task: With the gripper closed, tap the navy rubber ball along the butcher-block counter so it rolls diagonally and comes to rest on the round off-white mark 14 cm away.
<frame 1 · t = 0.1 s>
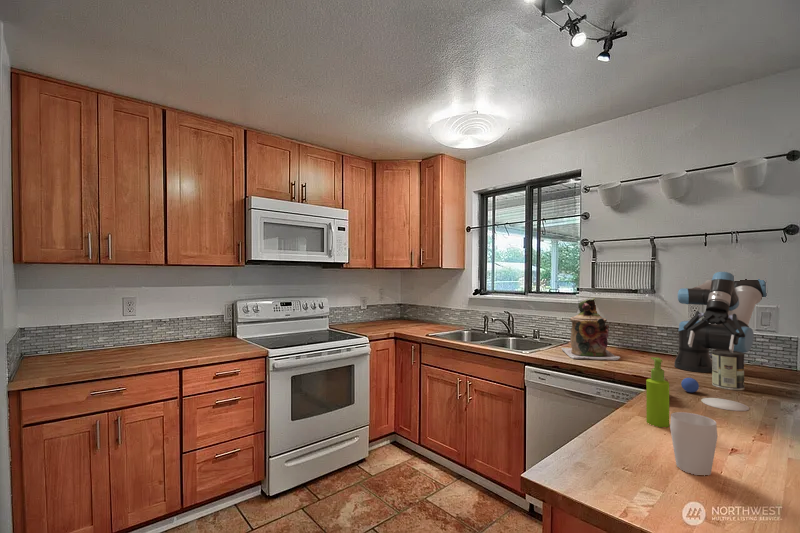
hand: (709, 348, 161), 15 cm above the counter, tool tilted 35°, fingers open, 13 cm apart
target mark: (724, 404, 138), on the counter
cup: (693, 470, 93), on the counter
coffee can: (727, 387, 160), on the counter
ball: (690, 385, 152), on the counter
cookie jar: (589, 356, 217), on the counter
tin: (659, 398, 145), on the counter
soap dispenser: (657, 423, 121), on the counter
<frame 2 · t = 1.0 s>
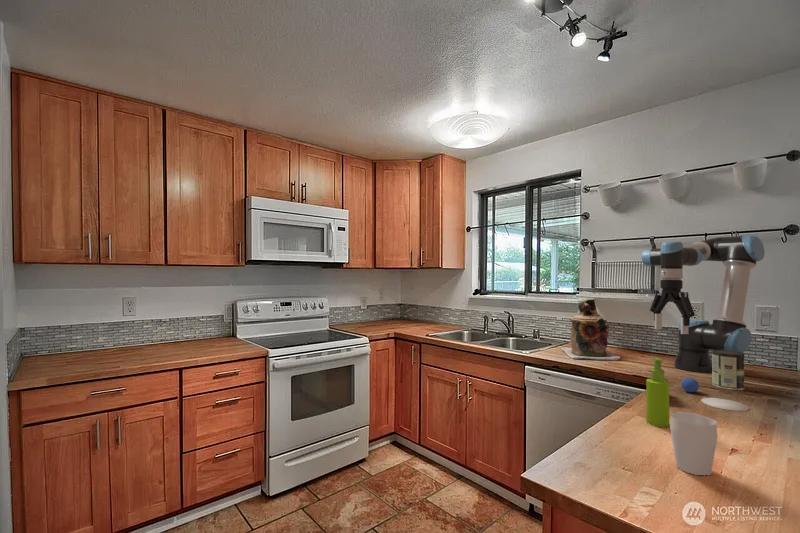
hand: (670, 331, 162), 22 cm above the counter, tool pointing down, fingers open, 12 cm apart
nothing on the counter moved.
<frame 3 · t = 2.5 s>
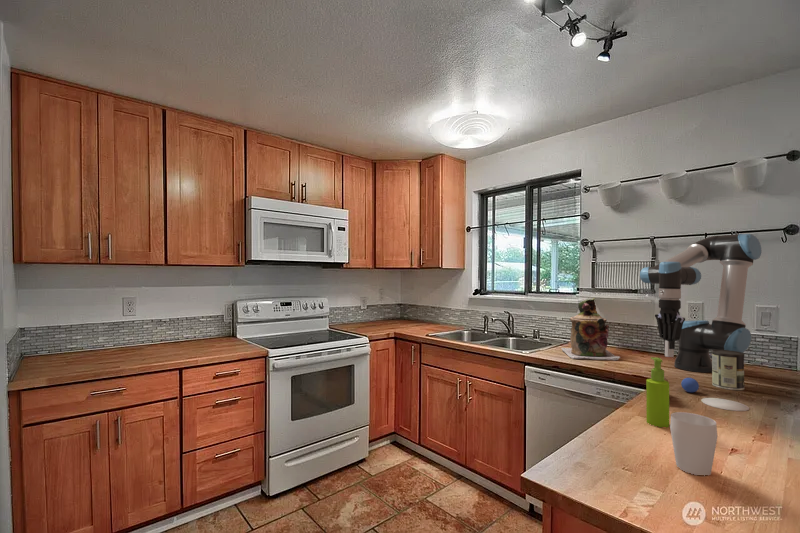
hand: (669, 356, 162), 12 cm above the counter, tool pointing down, fingers closed
nothing on the counter moved.
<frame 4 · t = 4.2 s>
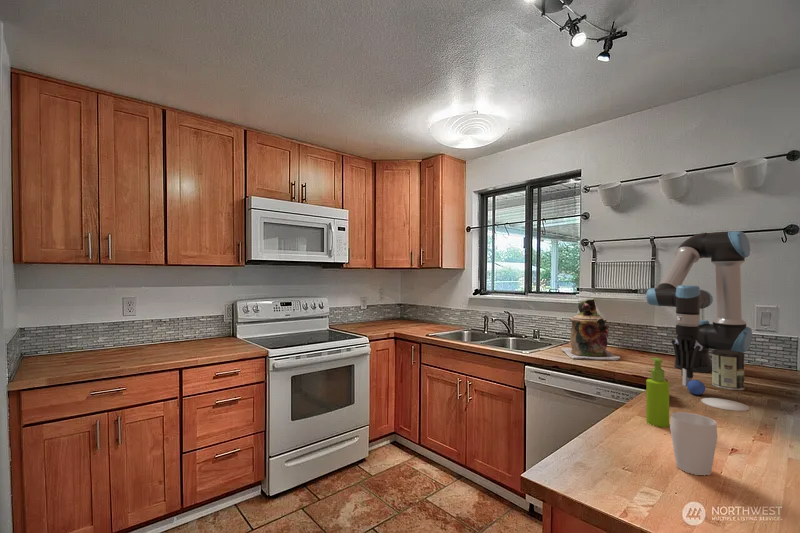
hand: (687, 385, 153), 2 cm above the counter, tool pointing down, fingers closed
ball: (696, 387, 150), on the counter, touching gripper
everything else where it was.
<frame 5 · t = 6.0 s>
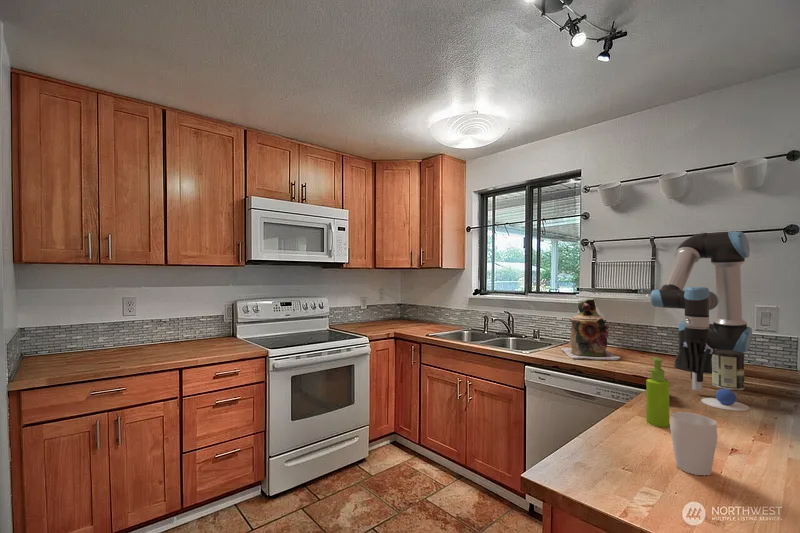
hand: (696, 389, 149), 2 cm above the counter, tool pointing down, fingers closed
ball: (725, 396, 138), on the counter
everything else where it was.
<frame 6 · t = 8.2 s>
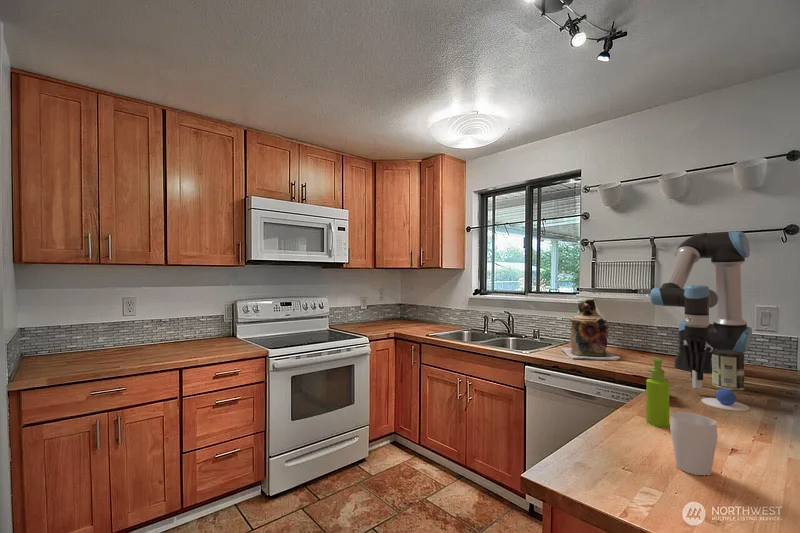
hand: (697, 387, 150), 3 cm above the counter, tool pointing down, fingers closed
nothing on the counter moved.
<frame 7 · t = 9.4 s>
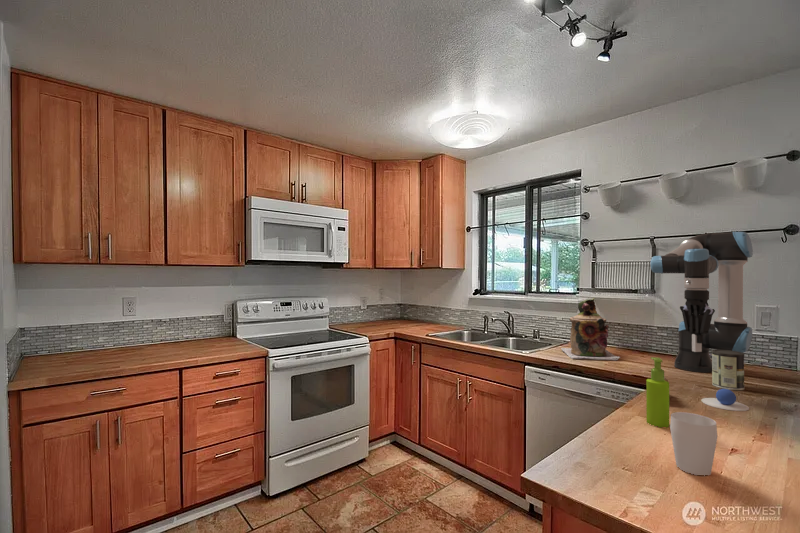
hand: (696, 351, 149), 16 cm above the counter, tool pointing down, fingers closed
nothing on the counter moved.
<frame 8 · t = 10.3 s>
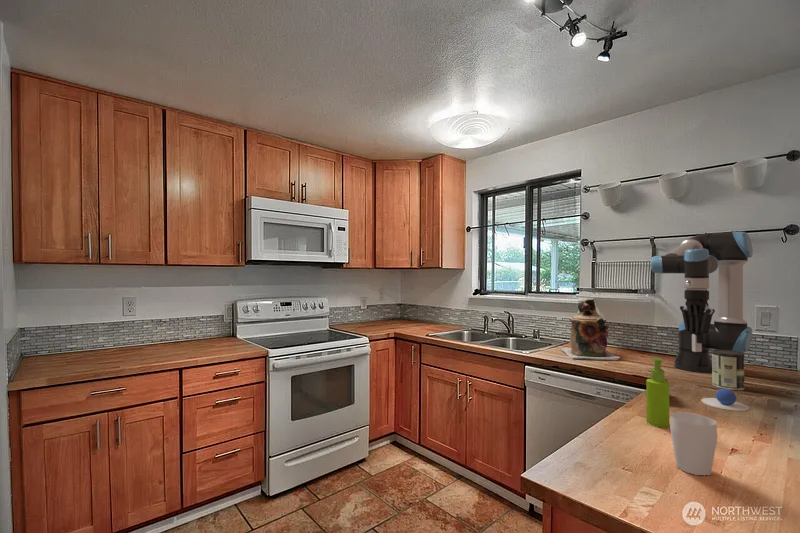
hand: (696, 351, 149), 16 cm above the counter, tool pointing down, fingers closed
nothing on the counter moved.
at the end: ball 0.4 cm from the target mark (horizontally); ball at rest at the end (0.0 cm/s); ball moved 14.2 cm from its start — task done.
